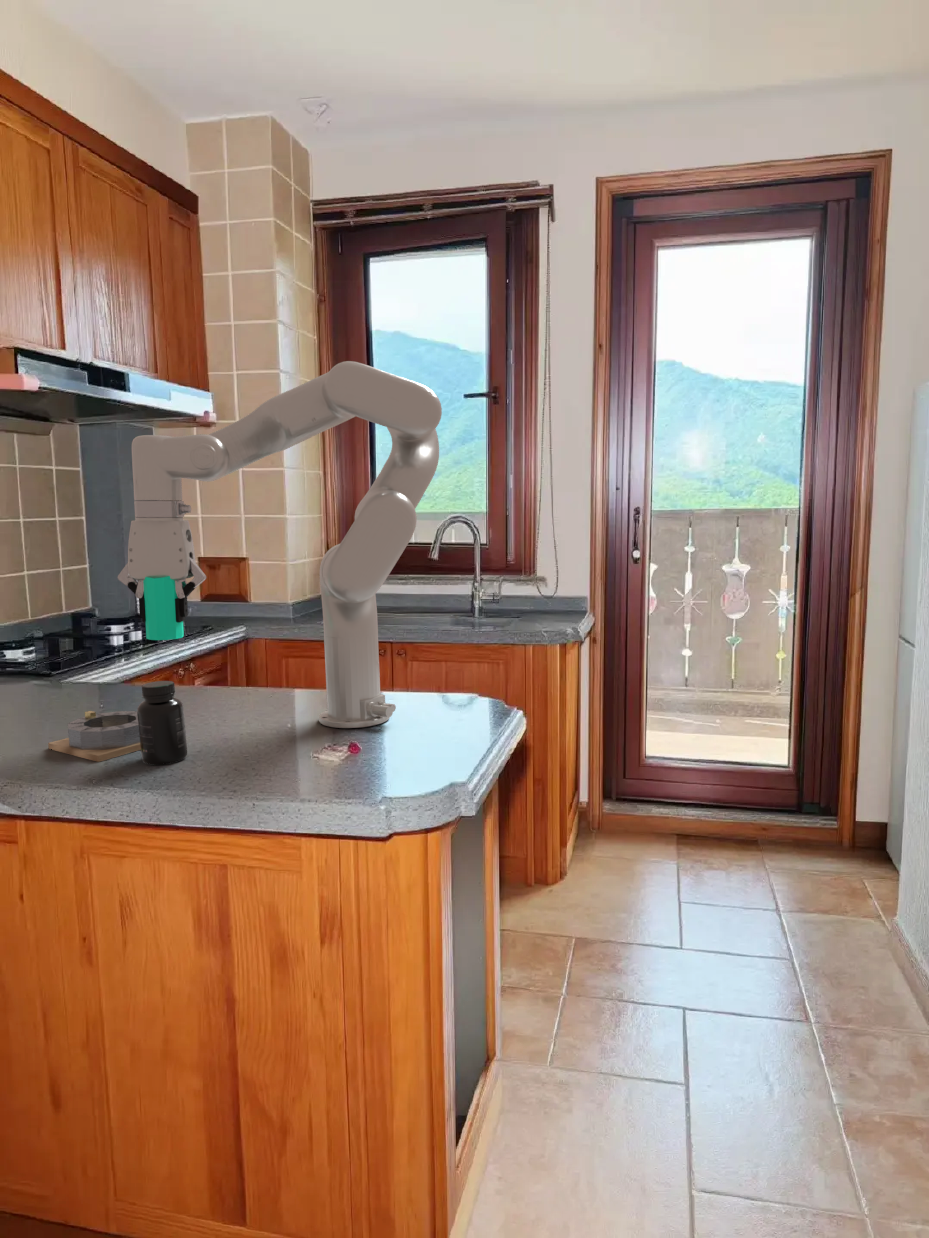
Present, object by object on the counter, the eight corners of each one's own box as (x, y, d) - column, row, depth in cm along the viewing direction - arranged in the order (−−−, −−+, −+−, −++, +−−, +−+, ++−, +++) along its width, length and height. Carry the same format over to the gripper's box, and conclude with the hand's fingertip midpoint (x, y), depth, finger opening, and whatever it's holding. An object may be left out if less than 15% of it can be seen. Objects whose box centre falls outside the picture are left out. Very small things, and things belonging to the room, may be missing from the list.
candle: (191, 636, 148) (188, 565, 146) (160, 641, 143) (157, 568, 142) (169, 633, 151) (166, 564, 150) (138, 637, 147) (135, 566, 145)
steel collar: (168, 734, 147) (167, 712, 146) (99, 754, 136) (97, 730, 136) (122, 724, 154) (121, 703, 154) (53, 742, 144) (51, 719, 143)
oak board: (174, 739, 147) (173, 734, 147) (98, 761, 136) (98, 755, 136) (124, 728, 155) (123, 723, 155) (48, 748, 144) (48, 742, 144)
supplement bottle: (171, 750, 141) (166, 677, 139) (196, 757, 137) (191, 682, 135) (132, 760, 136) (126, 685, 134) (156, 768, 132) (150, 690, 130)
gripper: (217, 511, 148) (221, 618, 150) (117, 511, 148) (123, 617, 151) (202, 512, 140) (207, 624, 143) (98, 512, 141) (104, 624, 144)
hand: (164, 620), depth 147 cm, fingers closed on candle, 4 cm apart
